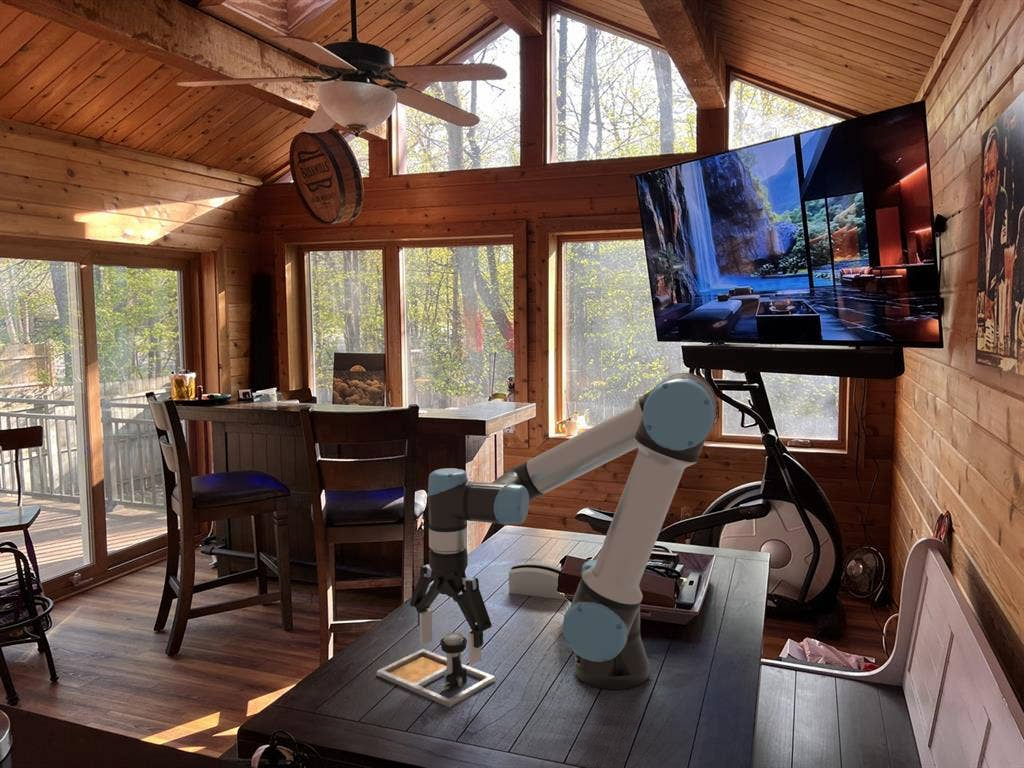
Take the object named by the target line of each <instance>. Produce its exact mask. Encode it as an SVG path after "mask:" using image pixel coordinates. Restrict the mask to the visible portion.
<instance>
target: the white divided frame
mask: <svg viewBox="0 0 1024 768" xmlns="http://www.w3.org/2000/svg"><path fill="white" fill-rule="evenodd" d="M462 668H464V669H466V670H467V675H470V676H473V677H475V678H477V679H480V681H478V682H477V683H475V684H473V685H471V686H470V687H467V688H465V690H462V691H460V692H459V693H457V694H455V695H453V696H451V697H450V698H449V697H446V696H444V695H441V694H439V693H437V692H435V691H432V690H430V689H427V688H425V686H427V685H429V684H430V683H432V682H434V681H436V680H438V679H439V678H442V677H444V675H445V674H447V656H443V655H441V654H438V653H435V652H432V651H430V650H428V649H425V648H421V649H419V650H417V651H415V652H413V653H411V654H409V655H406V656H405V657H403V658H401V659H398V660H396V661H394V662H393V663H390V664H388V665H386V666H384V667H382V668H380V669H378V670H376V676H377V677H379V678H382V679H383V680H386V681H388V682H390V683H393V684H395V685H398V686H400V687H402V688H404V689H407V690H408V691H411V692H413V693H416V694H418V695H420V696H422V697H425V698H427V699H429V700H432V701H434V702H436V703H438V704H440V705H442V706H445V707H447V708H451V707H454V706H455V705H456V704H459V703H460V702H462V701H464V700H465V699H467V698H468V697H470V696H472V695H474V694H475V693H478V692H479V691H481V690H482V689H484V688H486V687H487V686H489V685H491V684H493V683H494V682H496V677H495V676H494V675H492V674H490V673H487V672H484V671H482V670H479V669H477V668H474V667H471V666H469V665H467V664H463V663H462Z"/></svg>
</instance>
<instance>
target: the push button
mask: <svg viewBox="0 0 1024 768" xmlns="http://www.w3.org/2000/svg"><path fill="white" fill-rule="evenodd" d="M439 643H440V644H439V645H440V647H441V650H442V652H444V653H445V654H446V658H447V665H446V666H447V674H445V675H444V676H443V683H442V684H441V685H440V686H442V688H441V689H440V690H441V691H446V690H451V691H452V690H454V689H455V688H457V687H461V686H462V685H463V683H466V682H467V681H468V679H467V678H468V677H467V676H468V674H467V670H466V669H464V668H462V664H463V663H462V652H464V651H465V650H466V648H467V643H468V640H467V637H464V636H463V634H462V633H459V632H449V633H447V634H445V635H444V637H443V638H441V639H440V641H439Z"/></svg>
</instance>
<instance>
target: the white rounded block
mask: <svg viewBox="0 0 1024 768" xmlns="http://www.w3.org/2000/svg"><path fill="white" fill-rule="evenodd" d="M560 569H562V568H561V567H558V566H556V565H552V564H549V563H548V564H547V563H542V562H534V561H533V562H531V561H530V562H529V561H527V562H520V563H519V562H518V563H515V564H514V565H512V566H511V568H510V570H509V572H508V592H509V594H513V595H521V596H522V595H523V596H529V597H530V596H531V597H532V596H533V597H540V598H546V599H553V600H554V599H557V600H564V601H569V600H568V599H567V598H566V597H565V596H564V595H563V594H560V593H558V591H557V583H558V576H559V572H560Z"/></svg>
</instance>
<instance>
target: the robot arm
mask: <svg viewBox="0 0 1024 768" xmlns="http://www.w3.org/2000/svg"><path fill="white" fill-rule="evenodd" d="M635 401H636V402H635V404H634V405H633V406H631V407H629V408H627V409H625V410H623V411H621V412H620V413H617V414H615V415H614V416H611V417H610V418H607V419H606V420H604V421H602V422H600V423H598V424H595V425H594V426H592V427H590V428H589V429H587V430H585V431H583V432H581V433H579V434H577V435H575V436H573V437H571V438H568V440H566V441H563V442H562V443H560V444H557V445H556V446H554V447H552V448H549V449H548V450H546V451H544V452H542V453H540V454H538V455H536V456H535V457H532V458H531V459H529V460H527V461H526V462H524V463H521V464H519V465H518V466H513V467H511V468H509V469H508V470H506V471H505V472H504V473H503V474H502V475H500V476H499V477H497V478H496V479H495V480H493V481H491V482H480V481H479V482H478V481H477V482H476V481H471V480H469V481H468V476H467V472H466V471H465V470H464V469H461V468H460V469H458V468H454V467H451V468H449V467H448V468H447V467H446V468H439V469H436V470H434V471H432V472H430V474H429V475H428V484H427V487H428V489H427V498H428V499H427V501H428V547H429V548H430V549H429V551H428V554H429V555H428V556H429V557H428V558H429V560H428V562H429V563H428V564H425V565H423V566H420V569H419V570H420V571H419V578H418V580H417V583H416V586H415V588H414V590H413V593H412V596H411V599H410V601H409V605H410V607H413V608H415V611H416V612H417V624H418V626H419V644H420V645H422V646H425V644H428V643H430V642H432V641H433V621H432V620H433V616H432V615H433V612H432V611H433V610H432V609H430V608H431V605H432V604H433V602H434V601H435V600H436V599H437V597H438V596H439V595H440V594H441V595H446V596H448V597H450V598H452V600H453V601H454V602H455V603H457V605H458V607H459V609H460V611H461V613H462V614H463V616H464V619H465V620H466V622H467V624H468V625H469V627H470V630H468V631H467V632H468V633H467V635H468V636H467V638H468V640H467V643H468V664H469V665H471V666H473V665H474V664H476V663H479V662H480V661H481V660H482V647H483V645H484V631H486V630H489V629H491V628H492V627H493V625H492V622H491V619H490V616H489V614H488V610H487V608H486V605H485V601H484V599H483V595H482V593H481V591H480V584H479V583H480V582H479V578H478V577H476V576H475V577H472V578H469V577H467V576H466V569H467V567H468V563H469V562H468V559H469V558H468V557H469V556H468V548H467V547H468V522H477V523H478V522H480V523H489V524H490V523H491V524H499V525H504V526H506V525H507V526H509V525H521V524H523V523H524V522H525V521H526V519H527V516H528V513H529V507H530V502H531V501H533V500H535V499H537V498H539V497H542V496H543V495H545V494H547V493H548V492H550V491H552V490H554V489H556V488H559V487H561V486H562V485H564V484H566V483H567V484H568V482H571V481H573V480H575V479H577V478H579V477H581V476H583V475H584V474H587V473H588V472H591V471H593V470H595V469H597V468H598V467H602V466H603V465H605V464H607V463H609V462H611V461H613V460H615V459H618V458H619V457H621V456H623V455H625V454H627V453H629V452H632V451H633V450H635V449H637V450H638V452H637V454H636V457H635V459H634V462H633V463H632V464H633V465H632V467H631V470H630V472H629V474H628V477H627V481H626V483H625V486H624V488H623V491H622V493H621V496H620V499H619V501H618V504H617V506H616V509H615V511H614V514H613V517H612V520H611V522H610V525H609V527H608V530H607V532H606V535H605V537H604V540H603V543H602V546H601V548H600V551H599V553H598V557H597V559H593V560H588V561H586V562H584V563H583V564H582V566H581V567H582V568H581V573H580V576H581V578H580V581H579V583H578V585H577V588H576V591H575V593H574V596H573V599H572V601H571V603H570V606H569V607H568V609H567V610H566V611H565V614H564V616H563V620H562V621H563V622H562V633H563V637H564V639H565V641H566V643H567V645H568V647H569V648H570V650H572V651H573V652H574V653H575V654H576V655H575V658H574V673H575V675H576V677H577V678H578V680H580V681H581V682H583V683H585V684H587V685H588V686H592V687H595V688H599V689H604V690H625V689H631V688H633V687H637V686H640V685H642V684H643V683H645V682H646V681H647V679H648V678H649V677H650V661H649V659H648V657H647V653H646V650H645V646H644V644H643V640H642V638H641V603H642V600H643V593H642V591H641V586H640V584H641V581H642V577H643V574H644V572H645V570H646V568H647V564H648V562H649V560H650V558H651V555H652V552H653V550H654V547H655V545H656V542H657V540H658V537H659V535H660V532H661V530H662V527H663V525H664V522H665V520H666V517H667V513H668V512H669V509H670V506H671V505H672V501H673V498H674V496H675V494H676V491H677V488H678V487H679V484H680V481H681V479H682V476H683V473H684V471H685V469H686V468H688V467H690V466H691V467H692V465H695V464H697V462H698V460H699V457H700V455H701V452H702V449H703V447H704V445H705V442H706V440H707V437H708V435H710V433H711V431H712V429H713V426H714V424H715V419H716V412H717V406H718V405H717V404H718V403H717V396H716V394H715V391H714V389H713V387H712V386H711V385H710V383H709V382H708V381H707V380H705V379H704V377H701V376H699V375H697V374H695V373H692V372H691V373H690V372H679V373H675V374H671V375H670V376H668V377H666V378H665V379H663V380H662V381H661V382H660V383H657V385H655V386H654V387H653V388H652V389H651V390H649V391H648V392H646V393H644V394H643V395H641V396H639V397H637V399H636V400H635ZM431 581H433V582H432V583H431ZM430 584H431V585H430ZM460 593H461V594H460Z"/></svg>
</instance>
